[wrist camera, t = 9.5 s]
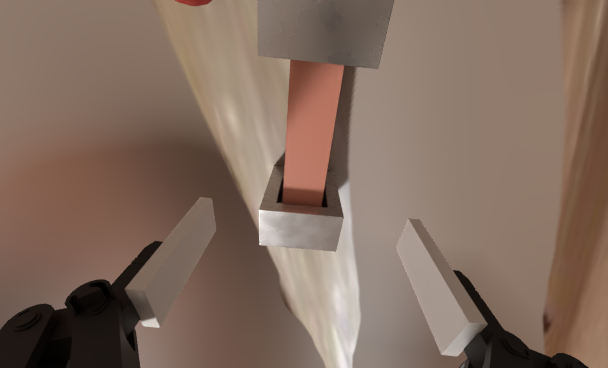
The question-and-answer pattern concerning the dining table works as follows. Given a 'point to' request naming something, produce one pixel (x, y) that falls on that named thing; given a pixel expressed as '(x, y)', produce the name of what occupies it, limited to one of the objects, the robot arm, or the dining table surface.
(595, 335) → the dining table surface
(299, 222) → the socket
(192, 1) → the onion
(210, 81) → the dining table surface
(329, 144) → the pink square post
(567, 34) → the dining table surface
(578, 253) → the dining table surface
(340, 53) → the plate
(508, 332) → the robot arm
